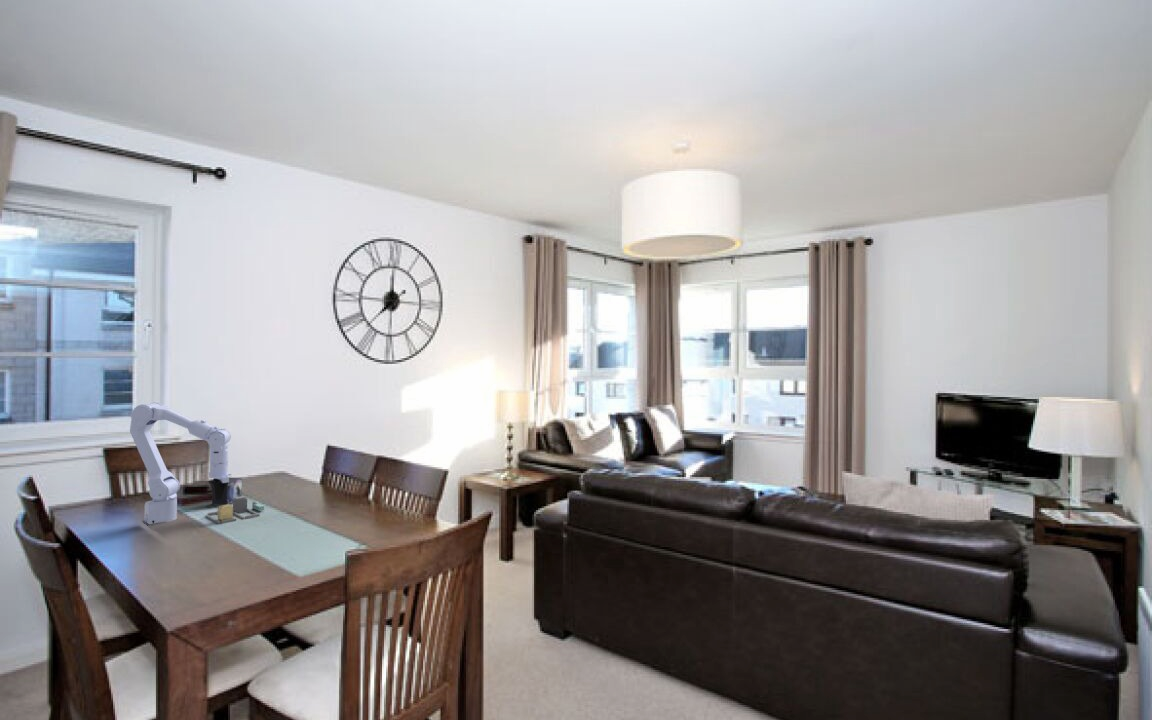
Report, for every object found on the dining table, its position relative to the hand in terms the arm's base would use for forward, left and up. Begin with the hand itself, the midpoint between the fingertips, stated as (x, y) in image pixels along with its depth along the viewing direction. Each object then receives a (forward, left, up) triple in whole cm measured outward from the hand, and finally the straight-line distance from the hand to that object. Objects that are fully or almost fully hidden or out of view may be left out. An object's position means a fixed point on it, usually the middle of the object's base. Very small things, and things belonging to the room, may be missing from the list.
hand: (218, 499), depth 216 cm
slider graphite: (+8, +2, -7) cm, 11 cm away
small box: (+10, +21, -8) cm, 25 cm away
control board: (+5, -2, -8) cm, 10 cm away
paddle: (+14, -1, -7) cm, 15 cm away
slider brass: (0, -7, -7) cm, 9 cm away
